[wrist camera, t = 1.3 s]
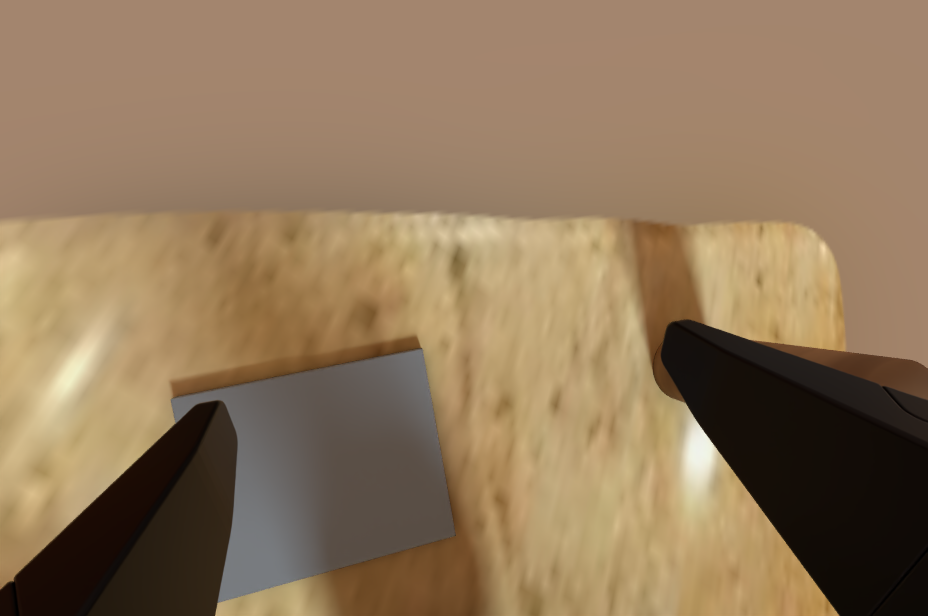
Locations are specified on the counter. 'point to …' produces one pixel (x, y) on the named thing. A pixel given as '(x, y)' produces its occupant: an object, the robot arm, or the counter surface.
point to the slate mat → (330, 469)
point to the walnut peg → (868, 367)
